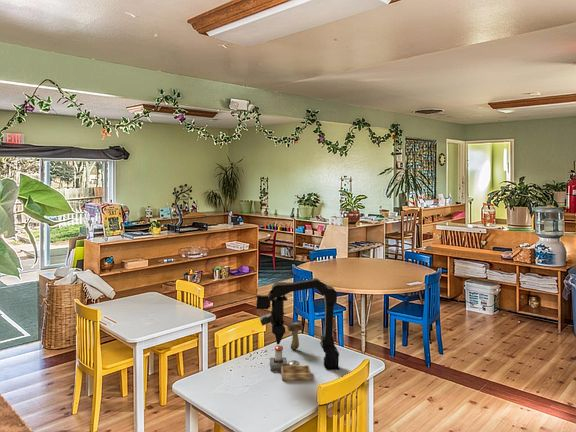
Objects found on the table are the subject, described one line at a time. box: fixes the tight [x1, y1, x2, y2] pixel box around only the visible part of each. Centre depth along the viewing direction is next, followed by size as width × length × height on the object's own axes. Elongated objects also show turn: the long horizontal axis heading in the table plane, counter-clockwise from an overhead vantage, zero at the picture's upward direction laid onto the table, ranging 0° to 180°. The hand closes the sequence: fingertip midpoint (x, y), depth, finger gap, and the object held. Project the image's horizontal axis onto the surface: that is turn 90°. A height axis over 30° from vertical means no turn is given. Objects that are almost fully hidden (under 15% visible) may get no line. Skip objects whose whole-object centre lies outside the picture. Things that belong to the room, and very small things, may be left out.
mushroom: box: [286, 322, 304, 351], centre depth 236 cm, size 9×9×15 cm
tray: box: [280, 364, 312, 382], centre depth 206 cm, size 13×9×3 cm
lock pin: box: [274, 345, 284, 363], centre depth 215 cm, size 4×4×10 cm
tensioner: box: [269, 357, 300, 372], centre depth 215 cm, size 14×8×3 cm, turn 95°
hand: (277, 340), depth 214 cm, fingers open, 9 cm apart
